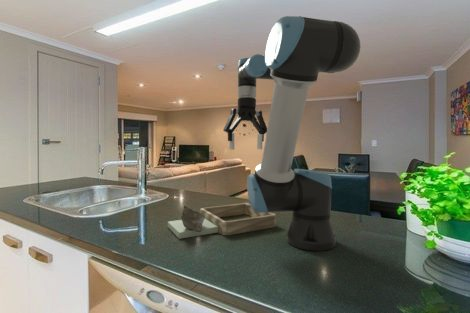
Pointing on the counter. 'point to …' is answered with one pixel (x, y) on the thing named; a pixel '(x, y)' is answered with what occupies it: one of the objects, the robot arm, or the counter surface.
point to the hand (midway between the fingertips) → (246, 149)
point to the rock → (192, 219)
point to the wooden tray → (242, 225)
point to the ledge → (184, 232)
